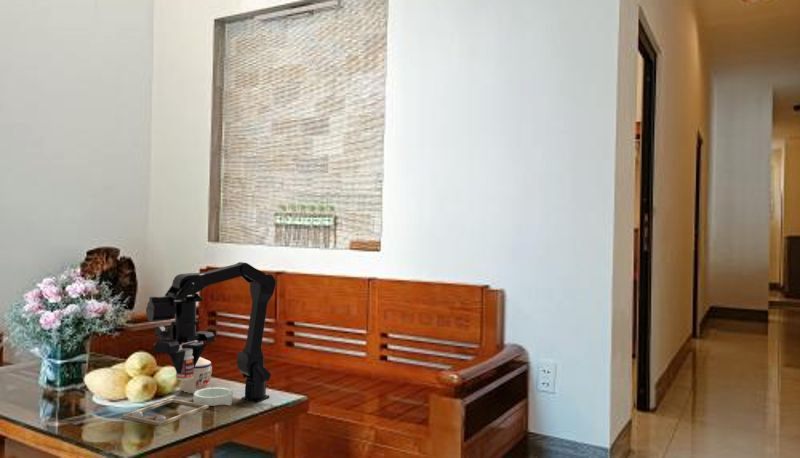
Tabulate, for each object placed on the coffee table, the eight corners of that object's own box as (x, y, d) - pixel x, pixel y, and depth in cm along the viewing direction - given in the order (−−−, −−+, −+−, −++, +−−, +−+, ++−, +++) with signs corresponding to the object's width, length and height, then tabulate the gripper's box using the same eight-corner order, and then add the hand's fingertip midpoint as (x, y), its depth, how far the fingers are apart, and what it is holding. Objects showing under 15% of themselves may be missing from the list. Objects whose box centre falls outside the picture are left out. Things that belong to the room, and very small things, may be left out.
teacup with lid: (198, 395, 190) (199, 358, 190) (175, 391, 193) (176, 356, 193) (221, 386, 201) (222, 351, 201) (199, 383, 204) (200, 349, 204)
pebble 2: (160, 424, 162) (161, 413, 162) (169, 426, 161) (169, 415, 161) (152, 427, 159) (152, 416, 159) (160, 429, 158) (160, 418, 158)
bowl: (211, 397, 187) (211, 385, 187) (239, 402, 183) (239, 390, 183) (185, 407, 177) (186, 394, 177) (214, 412, 173) (215, 399, 173)
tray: (171, 405, 178) (172, 398, 178) (208, 412, 173) (208, 405, 173) (121, 423, 162) (122, 415, 162) (160, 431, 156) (160, 423, 156)
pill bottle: (188, 381, 169) (188, 351, 169) (173, 380, 170) (173, 350, 170) (197, 376, 174) (197, 348, 174) (182, 375, 175) (182, 347, 175)
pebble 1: (137, 419, 165) (137, 408, 165) (145, 421, 164) (145, 410, 164) (128, 422, 162) (129, 411, 162) (136, 424, 161) (137, 413, 161)
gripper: (187, 311, 184) (187, 361, 184) (139, 320, 167) (138, 375, 167) (216, 313, 179) (215, 365, 180) (169, 323, 162) (168, 380, 162)
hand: (185, 371), depth 172 cm, fingers closed on pill bottle, 5 cm apart
